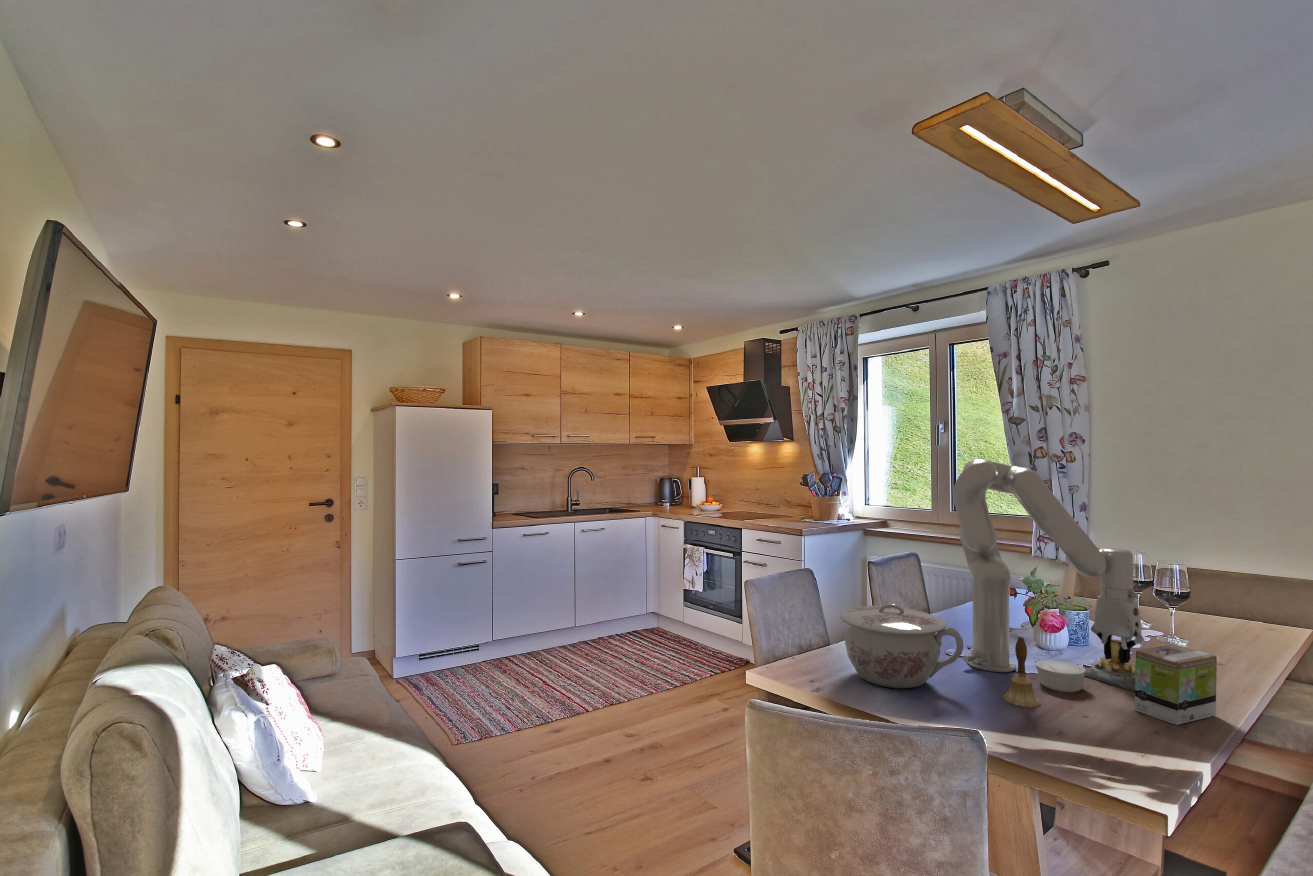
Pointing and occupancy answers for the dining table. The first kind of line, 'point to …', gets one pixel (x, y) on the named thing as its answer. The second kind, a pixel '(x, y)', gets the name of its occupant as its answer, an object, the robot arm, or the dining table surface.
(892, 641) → the chamber pot
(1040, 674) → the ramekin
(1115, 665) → the planet gear
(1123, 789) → the dining table surface
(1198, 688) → the tea box
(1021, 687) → the hand bell
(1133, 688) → the tray
